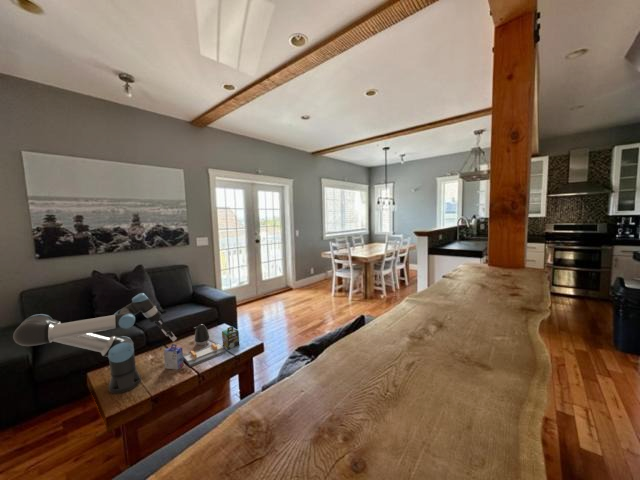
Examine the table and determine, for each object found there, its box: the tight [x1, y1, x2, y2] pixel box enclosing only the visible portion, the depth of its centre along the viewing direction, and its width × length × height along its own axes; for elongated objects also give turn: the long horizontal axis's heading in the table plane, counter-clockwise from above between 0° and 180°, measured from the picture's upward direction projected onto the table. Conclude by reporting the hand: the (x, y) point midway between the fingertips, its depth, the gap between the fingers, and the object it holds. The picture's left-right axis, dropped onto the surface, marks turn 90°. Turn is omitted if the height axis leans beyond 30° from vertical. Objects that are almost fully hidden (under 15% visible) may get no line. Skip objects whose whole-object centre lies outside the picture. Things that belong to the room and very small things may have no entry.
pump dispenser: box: [193, 323, 210, 346], centre depth 201 cm, size 10×10×15 cm
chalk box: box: [221, 325, 240, 351], centre depth 197 cm, size 9×9×15 cm
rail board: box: [183, 342, 227, 368], centre depth 185 cm, size 24×15×5 cm, turn 134°
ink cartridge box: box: [163, 343, 185, 370], centre depth 171 cm, size 10×6×14 cm, turn 78°
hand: (171, 337), depth 180 cm, fingers open, 13 cm apart
